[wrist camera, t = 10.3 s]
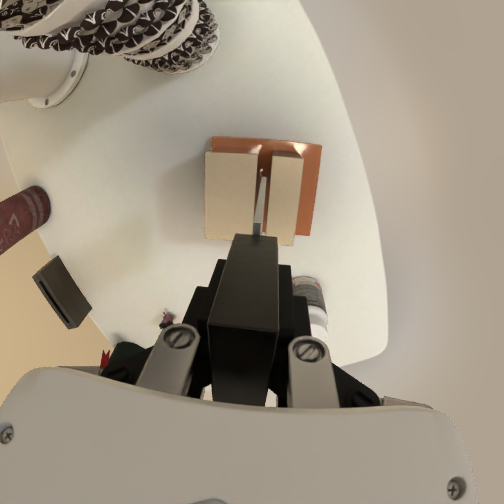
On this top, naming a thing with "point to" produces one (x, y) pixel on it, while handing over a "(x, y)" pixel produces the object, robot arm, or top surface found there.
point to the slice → (284, 195)
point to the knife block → (62, 293)
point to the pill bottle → (313, 305)
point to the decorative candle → (118, 29)
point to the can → (22, 215)
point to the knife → (245, 317)
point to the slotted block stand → (251, 183)
